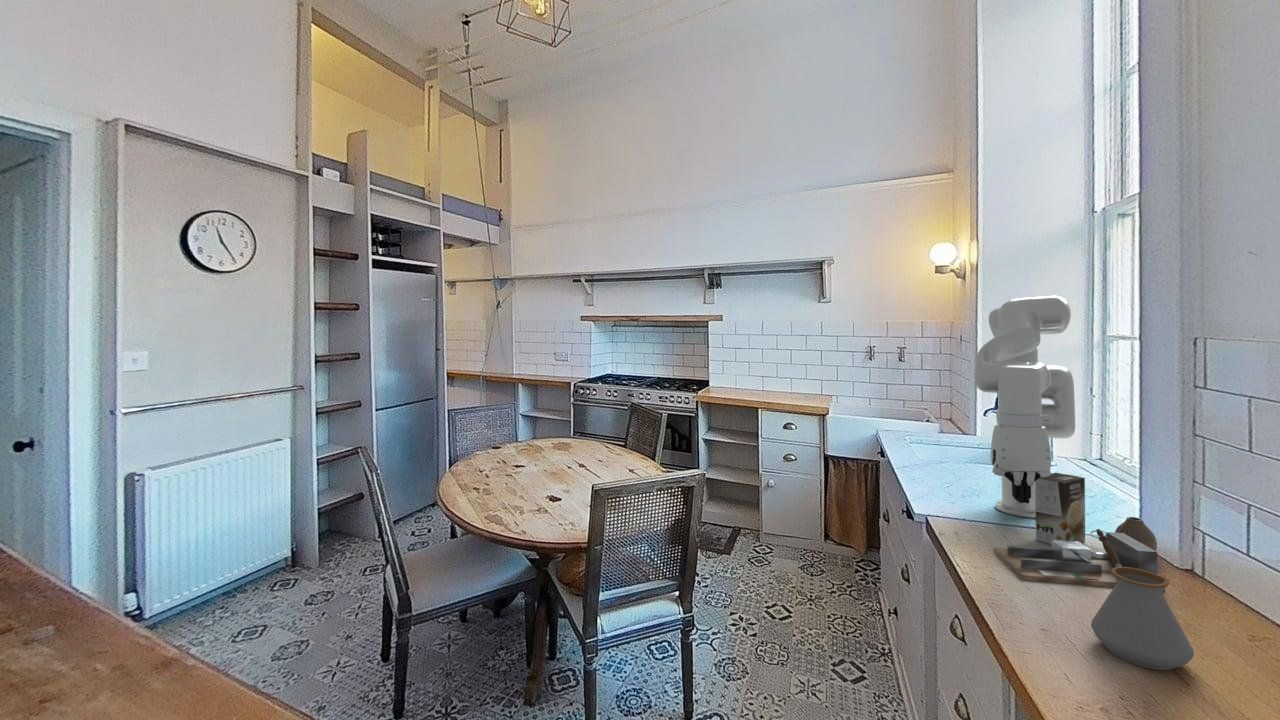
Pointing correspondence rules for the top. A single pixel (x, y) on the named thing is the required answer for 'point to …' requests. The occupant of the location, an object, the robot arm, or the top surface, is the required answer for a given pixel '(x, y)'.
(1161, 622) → the coffee pot
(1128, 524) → the vase
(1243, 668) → the top surface
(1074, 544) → the grey block with rod
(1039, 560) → the bench
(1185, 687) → the top surface
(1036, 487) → the coffee box
